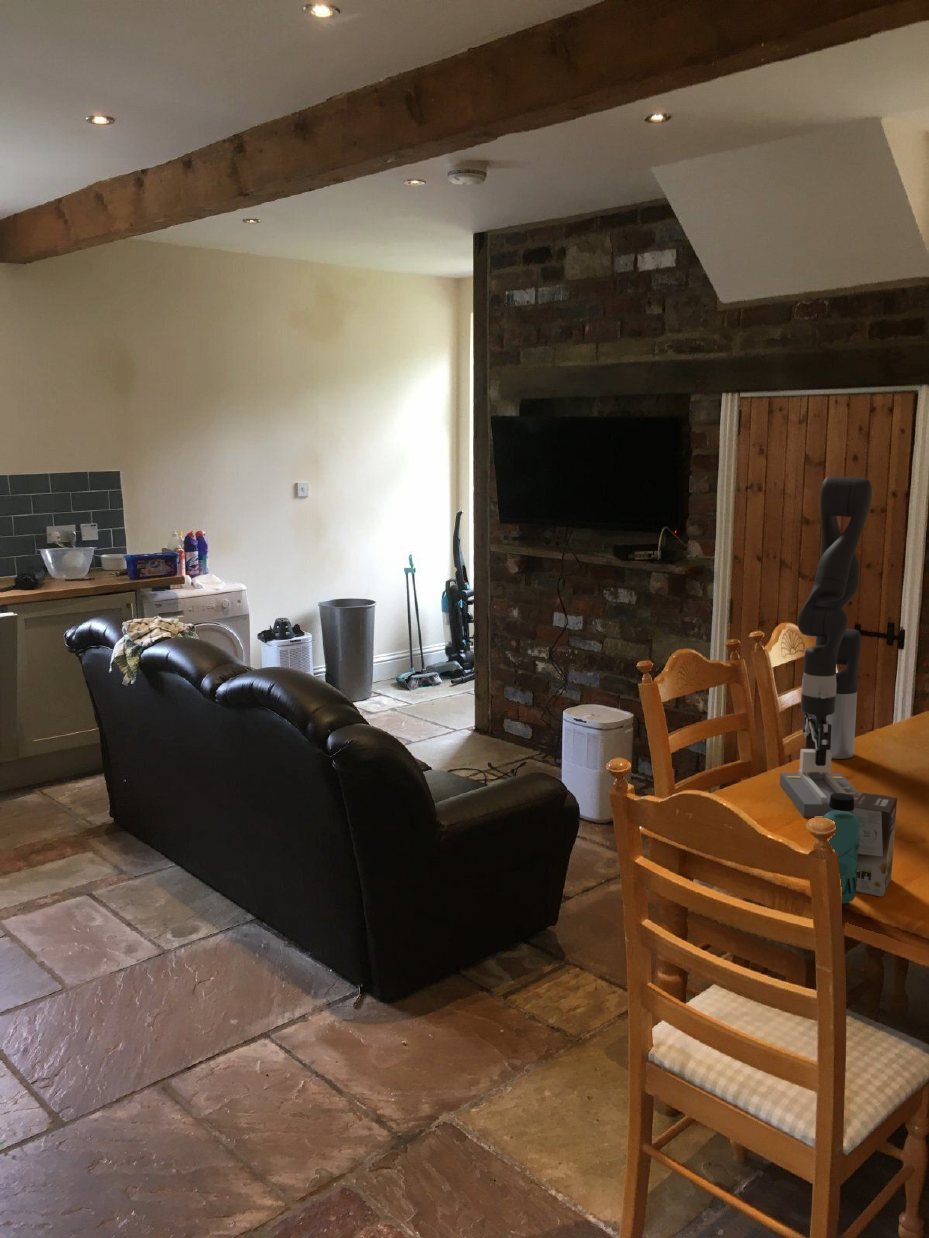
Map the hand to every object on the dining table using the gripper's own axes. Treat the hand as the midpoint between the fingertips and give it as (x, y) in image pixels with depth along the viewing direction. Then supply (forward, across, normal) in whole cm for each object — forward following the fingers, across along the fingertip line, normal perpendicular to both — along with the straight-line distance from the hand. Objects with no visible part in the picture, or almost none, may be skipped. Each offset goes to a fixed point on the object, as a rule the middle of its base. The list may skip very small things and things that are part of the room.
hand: (815, 759), depth 233 cm
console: (+7, +7, 0) cm, 10 cm away
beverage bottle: (+7, +59, -12) cm, 61 cm away
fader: (+4, 0, 0) cm, 4 cm away
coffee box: (+7, +51, -4) cm, 52 cm away
